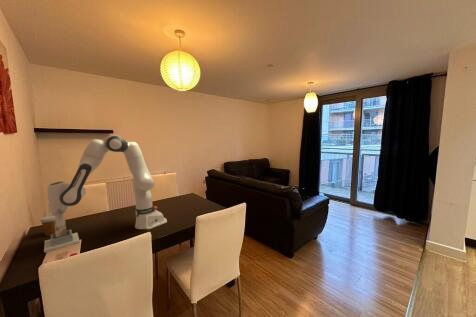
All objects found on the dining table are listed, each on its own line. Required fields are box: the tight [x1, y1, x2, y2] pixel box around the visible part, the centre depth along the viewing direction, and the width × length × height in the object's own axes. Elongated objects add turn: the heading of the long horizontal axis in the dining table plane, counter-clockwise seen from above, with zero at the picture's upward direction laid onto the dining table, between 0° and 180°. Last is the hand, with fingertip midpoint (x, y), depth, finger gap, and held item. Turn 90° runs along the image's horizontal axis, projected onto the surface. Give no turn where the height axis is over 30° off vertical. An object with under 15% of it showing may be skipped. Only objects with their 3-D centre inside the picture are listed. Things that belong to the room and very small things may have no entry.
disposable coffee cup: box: [40, 214, 56, 237], centre depth 137 cm, size 10×10×12 cm
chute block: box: [54, 218, 67, 237], centre depth 124 cm, size 5×5×9 cm
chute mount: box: [43, 229, 80, 254], centre depth 125 cm, size 16×15×6 cm
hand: (60, 229), depth 124 cm, fingers closed on chute block, 5 cm apart
